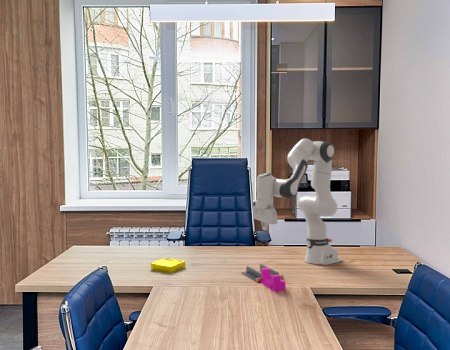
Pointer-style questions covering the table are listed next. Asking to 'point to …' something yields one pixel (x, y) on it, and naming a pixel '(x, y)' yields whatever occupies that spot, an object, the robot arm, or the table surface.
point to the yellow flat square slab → (168, 265)
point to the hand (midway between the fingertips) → (264, 229)
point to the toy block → (272, 280)
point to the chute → (258, 273)
